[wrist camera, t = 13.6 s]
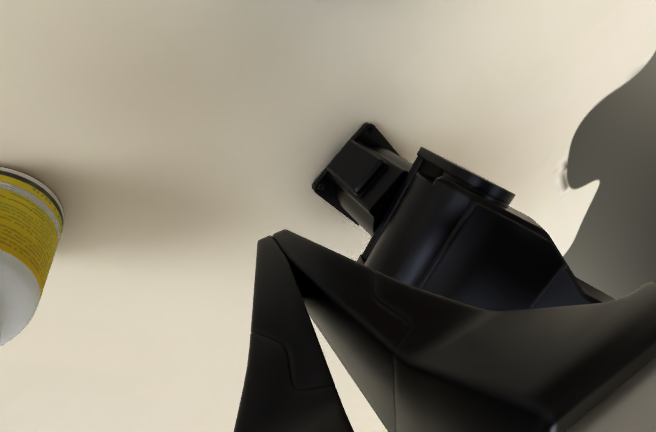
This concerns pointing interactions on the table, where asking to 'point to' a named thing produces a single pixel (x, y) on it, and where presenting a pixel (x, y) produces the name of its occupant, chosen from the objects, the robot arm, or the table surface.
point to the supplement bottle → (25, 247)
